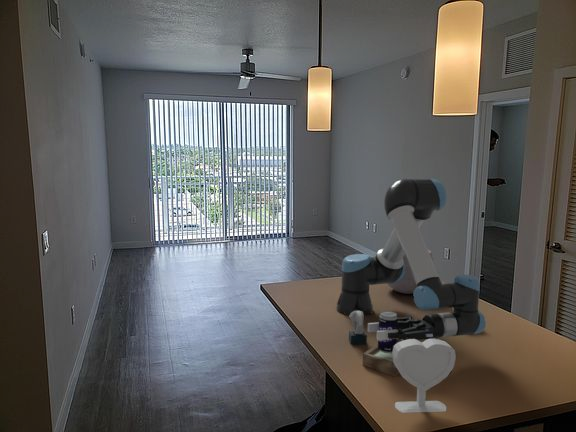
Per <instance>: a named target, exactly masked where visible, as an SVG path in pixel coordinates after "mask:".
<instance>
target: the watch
mask: <svg viewBox="0 0 576 432" xmlns="http://www.w3.org/2000/svg"><path fill="white" fill-rule="evenodd" d="M348 317H349V318H350V320H351V323H352V327H353V330H349V331H348V341H349V344H350V345H367V344H368V343H367V339H368V335H367V333H366V332H365V330H364V329H365V328H364V318H365V315H364V313H363V312H362V311H353V312H352V313H351V314H350V315H348Z"/></svg>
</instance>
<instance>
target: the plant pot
mask: <svg viewBox="0 0 576 432" xmlns="http://www.w3.org/2000/svg"><path fill="white" fill-rule="evenodd" d="M428 251H429V254H430V256H431V259H432V261H433V254H432V251H431V250H430V249H428ZM403 260H404V264H405V269H404V271H405V273H404V276H403V278H402V279H401V280H400V281H398V282H395V283H391V284H387V285H388V286H389V288H391V289H393V291H395V292H398V293H401V294H404V295H405V294H408V295H410V294H411V295H412V294H413V293H414V290H415V289H416V288H417V284H416V282H415V279H414V277H413V274H412V271H411V269H410V266H409V264H408V261H407V259H406V256H405V255H404V257H403ZM433 262H434V261H433Z"/></svg>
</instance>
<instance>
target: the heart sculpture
mask: <svg viewBox="0 0 576 432" xmlns="http://www.w3.org/2000/svg"><path fill="white" fill-rule="evenodd" d="M392 355H393V363H394V364H395V366H396V368H397V369H398V371H399V374H400V376H401V377H402V378H403V379H404V380H406V381H407V382H408V383H409V385H410V384H411V385H412V386H413V387H415V388H416V400H415V401H396V402H395V403H394V407H395V409H396V410H398V411H399V412H400V413H402V414H403V413H404V414H409V413H434V412H435V413H437V412H438V413H441V412H443V413H444V412H447V406H446V405H445V404H444V403H443V402H441V401H439V400H426V398H427V397H426V395H427V391H428V390H430V389H431V388H433V387H434V386H436V385H438V384H440V383H441V382H442V381H443V380H445V379H446V378H447V377H448V376H449V375H450V373H451V372H452V370H453V369H454V367H455V363H456V357H457V356H456V355H457V354H456V350H455V349H454V348H453V347H452V346H451V345H450V344H449V343H448V342H447V341H444V340H442V339H439V338H433V339H424V341H421V340H416V339H408V340H403V341H401V342H398V343H397V344H395V345H394V347H393V352H392Z"/></svg>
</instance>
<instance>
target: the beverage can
mask: <svg viewBox="0 0 576 432" xmlns="http://www.w3.org/2000/svg"><path fill="white" fill-rule="evenodd" d="M398 318H399V317H398V316H397V313H396V312H394V311H392V310H391V311H390V310H385V311H384V310H383V311H380V314H379V316H378V322H379V330H378V331H382V330H393V329H397V324H398ZM397 330H398V329H397ZM377 344H378V348H379V349H380V351H381V352H384V353H392V352H393V347H394V345H395V344H397V339H388V340H378V341H377Z"/></svg>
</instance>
